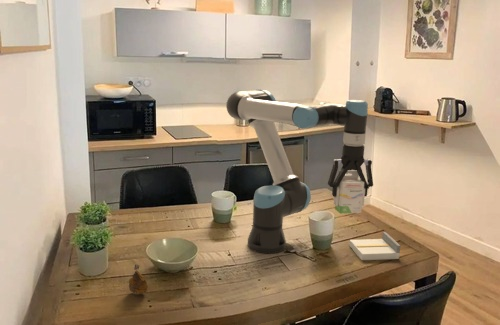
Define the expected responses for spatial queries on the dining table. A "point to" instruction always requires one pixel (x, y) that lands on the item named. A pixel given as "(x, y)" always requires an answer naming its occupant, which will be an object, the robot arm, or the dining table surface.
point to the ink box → (350, 194)
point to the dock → (376, 248)
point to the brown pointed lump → (137, 282)
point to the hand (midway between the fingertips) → (348, 204)
